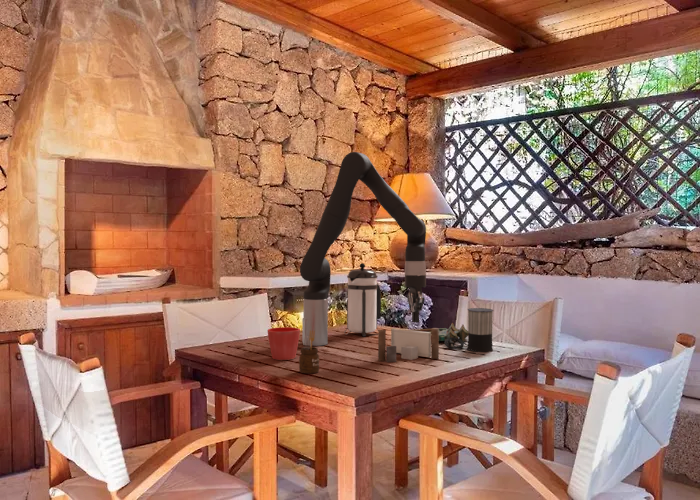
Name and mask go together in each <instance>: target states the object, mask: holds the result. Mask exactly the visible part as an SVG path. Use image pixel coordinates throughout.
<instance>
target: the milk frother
mask: <svg viewBox="0 0 700 500" xmlns="http://www.w3.org/2000/svg"><path fill="white" fill-rule="evenodd" d="M467 311H468V314H467V315H468V319H467V321H468V322H467V324H468V326H467V328H468V330H467V331H468V336H467V343H466V342H465V341H464V342H463V341H462V340H460V338H459V337H458V338H454V337H451V338H448V339H446V340H445V341H443V342H444V343H443V344H444V346H445V347H446V348H448V349H453V350H459V349H462V348H464V346H467V347H466V349H467V350H468V351H471V352H475V353H476V352H477V353H478V352H480V353H488V352H493V350H494V348H493V312H494V309H491V308H484V307H472V308H467ZM452 341H454V342H452ZM455 342H457V343H459V345H455Z"/></svg>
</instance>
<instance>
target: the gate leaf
mask: <svg viewBox="0 0 700 500" xmlns="http://www.w3.org/2000/svg"><path fill="white" fill-rule="evenodd" d="M412 330H413V329H401V328H391V331H390V332H391V335H390V336H391V338H390V339H391V340H390V341H391V344H390V346H396V354H401V347H402V346H406V345H411V346H418V357H426V358H430V357H431V332H422V331H412Z"/></svg>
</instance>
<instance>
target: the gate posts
mask: <svg viewBox="0 0 700 500" xmlns="http://www.w3.org/2000/svg"><path fill="white" fill-rule="evenodd" d="M431 329H432V339H431V360H439V358H440V357H439V355H440V354H439V349H440V347H439V345H440V341H439V329H440V328H438V327H432V328H431ZM377 332H378V333H377V335H378V336H377V337H378V338H377V340H378V341H377V344H378V346H377V348H378V349H377V350H378V352H377V355H378V356H377V362H378V361H379V362H386V363H397V353H396V346H391V345H386V343H387V340H386V339H387V337H386V336H387V335H386V333H387V330H386V329H378V330H377Z"/></svg>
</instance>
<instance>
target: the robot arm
mask: <svg viewBox="0 0 700 500" xmlns="http://www.w3.org/2000/svg"><path fill="white" fill-rule="evenodd" d="M338 171H339V172H338V174H337V179H336V181H335V184H334V187H333V189H332V191H331V193H330V196H329V199H328V201H327V204H326V206H325V208H324V211H323V212H322V216H321V218H320V221H319V222H318V223H319V224H318V226H317V228H316V231H315V233H314V236H313V238H312V241H311V243H310V245H309V247H308V249H307V251H306V252H305V255H304V256H303V258H302V261H301V263H300V266H299V273H300V276H301V278H302V279H303V280H304V281H306V282H308V285H307V288H306V289H305V290H304V291H303V317H302V319H301V320H302V324H301V325H302V329H301V330H302V337H301V338H302V344H304V345H303V346H311V345H310V340H308V339H309V337H305V336H310V330H311V335H312V330H313V334H314V330H315V335H314V341H312V347H313V346H314V347H315V346H317V347H318V346H325V345H328V344H329V343H328V341H329V337H328V333H329V332H328V329H329V328H328V327H329V325H328V322H329V321H328V319H329V317H328V316H329V313H328V312H329V310H328V307H329V306H328V303H329V302H328V301H329V300H328V298H329V292H330V289H331V288H330V287H331V272H332V271H331V264H330V262H329V260H328V259H327V258H326V255H327V252H328V251H329V249H330V248H331V247H332V245H333V243H335V242H336V241H337V239H338V238H339V236H340V235H341V234H342V233H343V230H344V228H345V226H346V223H347V221H348V219H349V216H350V213H351V212H350V211H351V206H352V198H353V194H354V190H355V188H356V186H357V183H358V182H359V181H360V182H361V183H363V184H364V185H365V186H366V187H368V188H369V190H370V191H371V193H372V194H373V195H374V197H375V199H376V200H377V202H378V203H379V204H380V206H381V207H382V208H383V209H384V210H385V212H386V213H388V214H389V216H390V217H391V218H392V219H393V220H394V221H395V222H396V223H397V224H398V226H399V228H401V230H402V231H403V232H404V233H405V235H406V238H407V239H406V247H405V253H404V255H405V258H404V259H405V264H404V287H406V288H408V289H409V290H408V291H409V292H408V294H407V295H406V299H407V303H408V307H409V309H410V311H411V322H412V323H415V324H416V323H419V322H420V312H421V311H423V306H424V303H425V300H426V299H425V297H423V292H422V291H423V290H422V288H426V287H427V266H426V247H425V245H426V238H427V227H426V223H425V222H424V220H422V219H421V218H419V217H418V216H417V215H416V214H415V213H414V212H412V210H411V209H410V207H409V205H408V204H407V203H406V202H405V201H404V200H403V198H401V196H400V195H399V194H398V193H397V192H396V191H395V190H394V189H393V188H392V187H391V186H390V185H389V184H388V183H387V182H386V181H385V179H384V178H383V177H382V176H381V175H380V173H379V172H378V170H377V169H376V167H375V165H374V164H373V163H372V161H371V160H370V158H369V157H368V156H367V155H366V154H365V153H362V152H358V151H352V152H351V151H350V152H349V153H347V154H346V155H344V156H343V159H342V161H341V164H340V167H339V170H338ZM303 338H304V339H303ZM312 338H313V336H312ZM305 344H306V345H305Z"/></svg>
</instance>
